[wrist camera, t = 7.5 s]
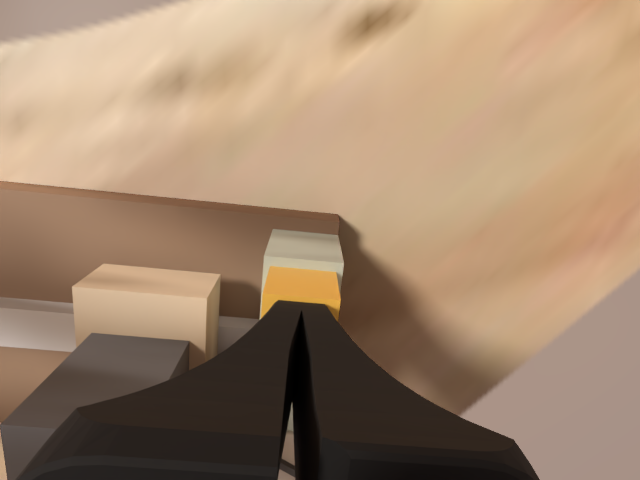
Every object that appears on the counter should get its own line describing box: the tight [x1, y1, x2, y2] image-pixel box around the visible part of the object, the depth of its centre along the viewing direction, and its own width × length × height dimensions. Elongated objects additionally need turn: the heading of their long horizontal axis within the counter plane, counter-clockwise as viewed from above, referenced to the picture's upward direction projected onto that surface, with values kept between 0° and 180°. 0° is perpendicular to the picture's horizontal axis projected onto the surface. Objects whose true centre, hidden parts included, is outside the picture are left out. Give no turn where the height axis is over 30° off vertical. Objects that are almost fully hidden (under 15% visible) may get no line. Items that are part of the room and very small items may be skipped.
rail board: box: [0, 181, 344, 480], centre depth 15 cm, size 10×20×5 cm, turn 84°
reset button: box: [261, 266, 341, 322], centre depth 12 cm, size 2×2×2 cm
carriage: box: [0, 264, 221, 480], centre depth 13 cm, size 6×4×6 cm, turn 174°
